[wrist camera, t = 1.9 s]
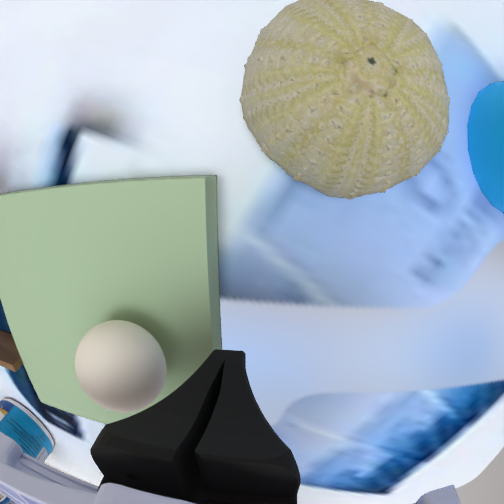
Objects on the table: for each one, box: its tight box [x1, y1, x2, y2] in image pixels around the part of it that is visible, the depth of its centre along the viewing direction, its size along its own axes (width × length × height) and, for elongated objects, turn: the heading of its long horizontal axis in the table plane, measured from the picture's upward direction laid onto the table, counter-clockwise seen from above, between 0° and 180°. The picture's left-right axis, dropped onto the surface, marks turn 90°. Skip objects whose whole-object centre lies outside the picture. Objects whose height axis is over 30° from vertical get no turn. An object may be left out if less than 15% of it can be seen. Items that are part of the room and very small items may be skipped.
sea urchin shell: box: [240, 0, 450, 199], centre depth 11 cm, size 9×8×8 cm
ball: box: [75, 320, 167, 413], centre depth 12 cm, size 4×4×4 cm
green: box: [0, 175, 222, 424], centre depth 16 cm, size 16×15×2 cm
